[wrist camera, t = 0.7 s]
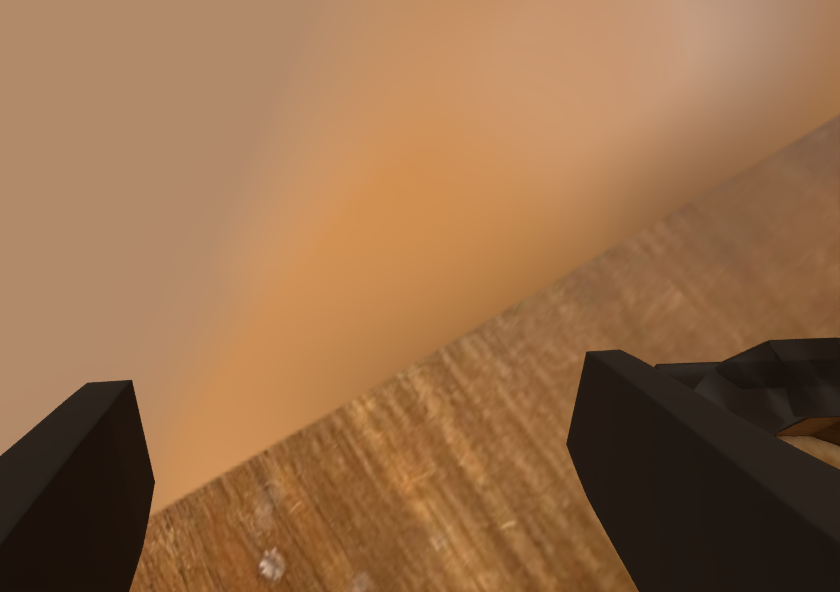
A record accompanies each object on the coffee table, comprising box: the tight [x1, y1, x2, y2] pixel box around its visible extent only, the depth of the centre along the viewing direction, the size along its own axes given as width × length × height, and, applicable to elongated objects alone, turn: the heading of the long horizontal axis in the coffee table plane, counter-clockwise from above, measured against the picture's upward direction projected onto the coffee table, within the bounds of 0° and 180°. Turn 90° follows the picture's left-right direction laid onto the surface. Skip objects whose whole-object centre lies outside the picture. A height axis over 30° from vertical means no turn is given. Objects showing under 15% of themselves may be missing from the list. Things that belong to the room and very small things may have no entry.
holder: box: [654, 338, 840, 445], centre depth 22 cm, size 14×14×3 cm
